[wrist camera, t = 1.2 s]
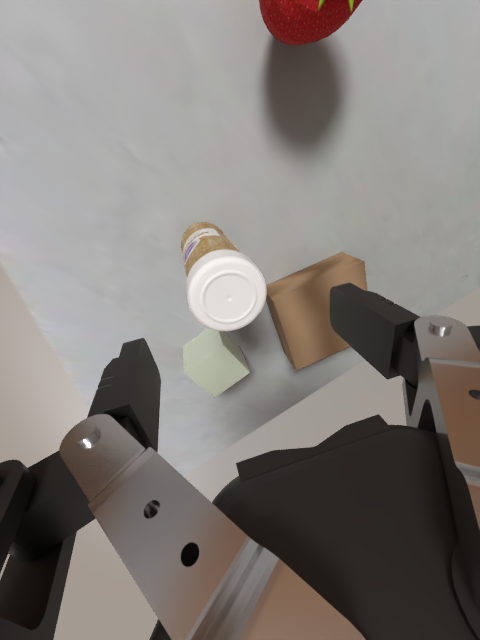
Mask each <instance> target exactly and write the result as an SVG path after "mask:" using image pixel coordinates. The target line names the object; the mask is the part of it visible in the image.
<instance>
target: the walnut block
mask: <svg viewBox="0 0 480 640" xmlns="http://www.w3.org/2000/svg"><path fill="white" fill-rule="evenodd" d="M345 283H352V284H354V285H356V286H357V287H359V288H361V289H363V290H366V291H367V283H366V274H365V264H364V261H362V260H360V259H357V258H355V257H353V256H350V255H348V254H345V253H343V252H341V253H339V254H336V255H334V256H332V257H330V258H327V259H325V260H323V261H321V262H318V263H316V264H314V265H312V266H309V267H307V268H305V269H303V270H300V271H298V272H296V273H293V274H291V275H289V276H287V277H284V278H282V279H280V280H278V281H275V282H273V283H271V284H269V285H266V287H267V296H266V301H267V304H268V307H269V309H270V312H271V315H272V318H273V321H274V324H275V327H276V330H277V332H278V335H279V338H280V341H281V344H282V347H283V350H284V352H285V354H286V355H287V357H288V358H289V360H290V361H291V363H292V364H293V366H294V367H295V369H296V370H299V369H301V368H303V367H306V366H308V365H310V364H312V363H315V362H317V361H319V360H321V359H323V358H326V357H328V356H330V355H332V354H335V353H337V352H339V351H341V350H343V349H346V348H348V347H350V345H349V344H348V343H347V342H346V341H345V340H343V339H342V338H341V337H340V336H339V335H338V334H337V333H336V332H335V331H334V330H333V328H332V326H331V323H330V289H331V288H332V287H334V286H337V285H341V284H345Z"/></svg>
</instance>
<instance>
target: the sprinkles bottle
mask: <svg viewBox="0 0 480 640" xmlns="http://www.w3.org/2000/svg"><path fill="white" fill-rule="evenodd" d="M181 248H182V253H183V260H184V266H185V270H186V275H187V282H186V294H187V300H188V305H189V308H190V310H191V312H192V314H193V315H194V317H195V318H196V319H197V320H198V321H199V322H200V323H201V324H202V325H204V326H206V327H207V328H210V329H213V330H216V331H233V330H237V329H240V328H242V327H244V326H246V325H248V324H249V323H251V322H252V321H253V320H254V319H255V318H256V317H257V316H258V315H259V314H260V312H261V310H262V309H263V307H264V304H265V301H266V296H267V287H266V282H265V279H264V277H263V274H262V273H261V271H260V270H259V269H258V267H257V266H256V265H255V264H254V263H253V262H252V261H251V260H250V259H249V258H248V257H247V256H246V255H244V254H242V253H241V252H240V250H239V249H238V248H237V247H236V246H235V245H234V244H233V243H232V242H231V241H230V240H229V239H228V238H227V237H226V236H225V235H224V234H223V232H222V231H221V230H220V229H219V228H218V227H217V226H215V225H214V224H211V223H207V222H205V223H203V222H202V223H197V224H194V225H192V226H191V227H190V228H189V229H187V231H186V232H185V233H184V235H183V237H182V242H181Z"/></svg>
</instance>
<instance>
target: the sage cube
mask: <svg viewBox="0 0 480 640" xmlns="http://www.w3.org/2000/svg"><path fill="white" fill-rule="evenodd" d="M183 360H184V374H186V375H187V376H188V377H189V378H191V379H192V380H193V381H194V382H195V383H197V384H198V385H199V386H200V387H201V388H203V389H204V390H205V391H206V392H207V393H209V394H210V395H211V396H212V397H214V398H215V397H217V396H218V395H220V394H221V393H222V392H224V391H225V390H227V389H228V388H229V387H231V386H232V385H234V384H235V383H236V382H238V381H239V380H241V379H242V378H243V377H245V376H246V375H247V374H249V373H250V371H249V368H248V366H247V363H246V361H245V358H244V356H243V353H242V351H241V348H240V347H239V346H238V345H237V344H236V343H235V342H234V341H233V339H232V338H231V337H230V336H229V335H228V334H227V333H226V332H225V331H216V330H213V329H210V328H207V329H206V330H204V331H203V332H202V333H200V334H199V335H198V336H196V337H195V338H194V339H192V340H191V341H190V342H188V343H187V344H186V345H185V346H183Z"/></svg>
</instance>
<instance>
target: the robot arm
mask: <svg viewBox="0 0 480 640" xmlns="http://www.w3.org/2000/svg"><path fill="white" fill-rule="evenodd" d="M330 323H331V326H332V328H333V330H334V331H335V332H336V333H337V334H338V335H339V336H340V337H341V338H342V339H343V340H345V341H346V342H347V343H348V344H349V345H350V346H351V347H352V348H353V349H354V350H355V351H357V352H358V353H359V354H360V355H361V356H362V357H363V358H364V359H365V360H366V361H368V362H369V363H370V364H371V365H372V366H373V367H374V368H375V369H376V370H377V371H379V372H380V373H381V374H382V375H383V376H384V377H385V378H386V379H390V378H393V377H396V376H400V375H401V376H402V377H403V384H402V386H403V395H404V405H405V414H406V423H407V426H403V425H388V424H387V423H386V422H385V421H384V420H383V419H382V418H381V416H380V415H375V416H372V417H369V418H367V419H364V420H361V421H358V422H355V423H352V424H349V425H346V426H344V427H343V428H341V429H340V430H339V431H337V432H336V433H334V434H333V435H332V436H330V437H329V438H327V439H326V440H324V441H323V442H322V443H320V444H319V445H317V446H315V447H311V448H298V449H286V450H274V451H270V452H267V453H264V454H262V455H259V456H256V457H253V458H250V459H247V460H244V461H241V462H239V463H236V464H237V469H238V473H239V476H238V477H237V478H235V479H234V480H232V481H231V482H230V483H229V484H228V485H227V486H225V487H224V488H223V489H222V491H221V492H220V493H219V494H218V495H217V496H216V497H215V499H214V500H213V502H212V503H211V502H210V501H209V500H208V499H207V498H206V497H205V496H204V495H203V494H201V492H199V491H198V490H197V489H196V488H195V487H194V486H193V485H192V484H191V483H190V482H188V481H187V480H186V479H185V478H184V477H183V476H182V475H181V474H180V473H179V472H178V471H176V470H175V469H174V468H173V467H172V466H171V465H170V464H169V463H168V462H167V461H166V460H164V459H163V458H162V457H161V456H160V455H159V454H158V453H157V450H158V429H159V408H160V387H161V379H160V374H159V370H158V368H157V365H156V363H155V361H154V358H153V356H152V354H151V352H150V349H149V347H148V345H147V343H146V341H145V339H144V338H141V339H137V340H134V341H130V342H126V343H124V344H123V346H122V349H121V352H120V356H119V358H115V359H112V361H111V362H110V363H109V364H108V365H107V366H106V368H105V369H104V371H103V374H102V377H101V381H100V383H99V385H98V389H97V391H96V394H95V397H94V400H93V402H92V405H91V408H90V411H89V414H88V417H87V418H86V419H85V420H83V421H81V422H80V423H78V424H77V425H76V426H74V427H73V428H72V429H71V430H70V431H69V432H68V433H67V434H66V436H65V437H64V439H63V440H62V443H61V445H60V448H59V451H57V452H56V453H54V454H52V455H50V456H48V457H47V458H45V459H43V460H41V461H40V462H38V463H36V464H34V465H32V466H30V467H29V468H27V467H26V466H25V465H23V464H22V463H21V462H20V461H18V460H8V461H5V462H2V463H0V572H1V570H2V567H3V565H4V562H5V560H6V557H7V555H8V554H10V557H9V559H8V562H7V564H6V567H5V570H4V572H3V575H2V577H1V580H0V640H53V638H54V633H55V628H56V624H57V620H58V615H59V610H60V605H61V601H62V597H63V592H64V587H65V583H66V578H67V573H68V569H69V565H70V560H71V555H72V551H73V546H74V542H75V537H76V532H77V531H78V530H79V529H81V528H82V527H84V526H85V525H87V524H88V523H89V522H91V521H92V520H94V519H95V518H96V519H97V521H98V523H99V524H100V526H101V527H102V529H103V531H104V532H105V534H106V535H107V537H108V538H109V540H110V542H111V543H112V545H113V546H114V548H115V550H116V551H117V553H118V555H119V556H120V558H121V559H122V561H123V563H124V564H125V566H126V567H127V569H128V571H129V572H130V574H131V575H132V577H133V579H134V580H135V582H136V583H137V585H138V587H139V588H140V590H141V591H142V593H143V595H144V596H145V598H146V599H147V601H148V603H149V604H150V606H151V607H152V609H153V611H154V612H155V614H156V615H157V617H158V621H157V624H156V626H155V628H154V630H153V633H152V635H151V637H150V640H480V326H470V327H469V326H468V327H467V326H466V325H465V324H463V323H462V322H460V321H458V320H456V319H453V318H449V317H445V316H436V315H431V316H424V317H419V316H417V315H416V314H414V313H412V312H410V311H408V310H406V309H404V308H403V307H401V306H399V305H397V304H394V303H393V302H392V301H390V300H388V299H387V300H386V298H384V297H382V296H380V295H379V294H377V293H374V292H370V291H366V290H363V289H361V288H359V287H357V286H356V285H354V284H352V283H345V284H341V285H337V286H334V287H332V288H331V289H330Z"/></svg>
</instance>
